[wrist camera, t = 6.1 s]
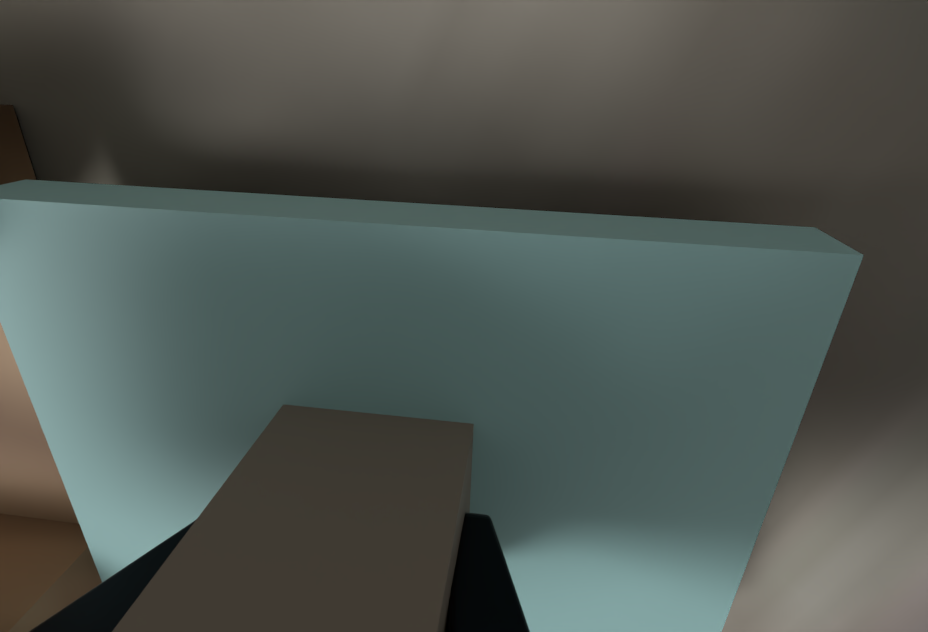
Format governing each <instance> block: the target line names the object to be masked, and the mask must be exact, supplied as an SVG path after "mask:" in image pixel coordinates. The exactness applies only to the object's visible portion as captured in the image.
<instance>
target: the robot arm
mask: <svg viewBox="0 0 928 632" xmlns="http://www.w3.org/2000/svg"><path fill="white" fill-rule="evenodd" d="M196 520H197V519H196ZM196 520H195V521H196ZM195 521H193V522H192V523H190V524H189V525H187V526H186V527H184V528H183V529H181V530H180V531H178V532H177V533H175V534H174V535H172V536H171V537H169V538H168V539H166V540H165V541H163V542H162V543H160V544H159V545H157V546H156V547H154V548H153V549H151V550H150V551H148V552H147V553H145V554H144V555H142V556H141V557H139V558H138V559H136V560H135V561H133V562H132V563H130V564H129V565H127V566H126V567H124V568H123V569H121V570H120V571H118V572H117V573H115V574H114V575H112V576H111V577H109V578H108V579H106V580H105V581H103V582H102V583H100V584H99V585H97V586H96V587H94V588H93V589H91V590H90V591H88V592H87V593H85V594H84V595H82V596H81V597H79V598H78V599H76V600H75V601H73V602H72V603H70V604H69V605H67V606H66V607H64V608H63V609H61V610H60V611H58V612H57V613H55V614H54V615H52V616H51V617H49V618H48V619H46V620H45V621H43V622H42V623H40V624H39V625H37V626H36V627H34V628H33V629H31V630H30V631H28V632H112V631H113V630H114V628H115V627H116V626H117V624H118V623H119V622H120V620H121V619H122V618H123V616H124V615H125V614H126V612H127V611H128V610H129V608H130V607H131V606H132V604H133V603H134V602H135V601H136V599H137V598H138V597H139V595H140V594H141V593H142V591H143V590H144V589H145V587H146V586H147V585H148V583H149V582H150V581H151V579H152V578H153V577H154V575H155V574H156V573H157V571H158V570H159V569H160V567H161V566H162V565H163V563H164V562H165V561H166V559H167V558H168V557H169V555H170V554H171V553H172V551H173V550H174V549H175V547H176V546H177V545H178V543H179V542H180V541H181V539H182V538H183V537H184V535H185V534H186V533H187V531H188V530H189V529H190V527H191V526H192V525H193V524H194V522H195ZM448 632H530V630H529V627H528V624H527V621H526V619H525V616H524V613H523V610H522V607H521V604H520V601H519V598H518V595H517V592H516V589H515V586H514V583H513V580H512V578H511V575H510V572H509V569H508V566H507V563H506V560H505V557H504V554H503V551H502V548H501V545H500V542H499V539H498V537H497V534H496V531H495V528H494V525H493V522H492V519H491V518H490V516H488V515H485V514H477V513H469V512H467V513H465V516H464V522H463V527H462V532H461V538H460V543H459V548H458V554H457V559H456V564H455V570H454V575H453V581H452V586H451V592H450V598H449V612H448Z"/></svg>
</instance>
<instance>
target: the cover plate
mask: <svg viewBox="0 0 928 632" xmlns="http://www.w3.org/2000/svg"><path fill="white" fill-rule="evenodd" d="M863 256H864V255H863V254H861V253H859V252H857V251H856V250H854V249H852V248H850V247H849V246H847V245H845V244H843V243H842V242H840V241H838V240H836V239H835V238H833V237H831V236H829V235H828V234H826V233H824V232H822V231H821V230H819V229H817V228H815V227H801V226H785V225H768V224H752V223H735V222H719V221H702V220H686V219H669V218H653V217H636V216H620V215H603V214H587V213H570V212H554V211H537V210H521V209H505V208H488V207H472V206H455V205H439V204H422V203H406V202H389V201H373V200H356V199H340V198H323V197H307V196H290V195H274V194H257V193H241V192H224V191H208V190H191V189H175V188H159V187H142V186H126V185H109V184H93V183H76V182H60V181H43V180H27V179H25V180H21V181H16V182H12V183H7V184H2V185H0V323H1V325H2V328H3V330H4V333H5V335H6V338H7V341H8V343H9V346H10V348H11V351H12V353H13V356H14V358H15V361H16V364H17V366H18V369H19V371H20V374H21V376H22V379H23V381H24V384H25V387H26V389H27V392H28V394H29V397H30V399H31V402H32V404H33V407H34V410H35V412H36V415H37V417H38V420H39V422H40V425H41V427H42V430H43V433H44V435H45V438H46V440H47V443H48V445H49V448H50V450H51V453H52V455H53V458H54V461H55V463H56V466H57V468H58V471H59V473H60V476H61V478H62V481H63V484H64V486H65V489H66V491H67V494H68V496H69V499H70V501H71V504H72V507H73V509H74V512H75V514H76V517H77V519H78V522H79V524H80V527H81V530H82V532H83V535H84V537H85V540H86V542H87V545H88V547H89V550H90V553H91V555H92V558H93V560H94V563H95V565H96V568H97V570H98V573H99V576H100V578H101V581H102V582H103V581H105V580H106V579H108V578H109V577H111V576H112V575H114V574H115V573H117V572H118V571H120V570H121V569H123V568H124V567H126V566H127V565H129V564H130V563H132V562H133V561H135V560H136V559H138V558H139V557H141V556H142V555H144V554H145V553H147V552H148V551H150V550H151V549H153V548H154V547H156V546H157V545H159V544H160V543H162V542H163V541H165V540H166V539H168V538H169V537H171V536H172V535H174V534H175V533H177V532H178V531H180V530H181V529H183V528H184V527H186V526H187V525H189V524H190V523H192V522H193V521H195V520H196V519H197V520H196V521H195V522H194V524H193V525H192V526H191V527H190V529H189V530H188V531H187V533H186V534H185V535H184V537H183V538H182V539H181V541H180V542H179V543H178V545H177V546H176V547H175V549H174V550H173V551H172V553H171V554H170V555H169V557H168V558H167V559H166V561H165V562H164V563H163V565H162V566H161V567H160V569H159V570H158V571H157V573H156V574H155V575H154V577H153V578H152V579H151V581H150V582H149V583H148V585H147V586H146V587H145V589H144V590H143V591H142V593H141V594H140V595H139V597H138V598H137V599H136V601H135V602H134V603H133V604H132V606H131V607H130V608H129V610H128V611H127V612H126V614H125V615H124V616H123V618H122V619H121V620H120V622H119V623H118V624H117V626H116V627H115V628H114V630H113V631H112V632H448V612H449V598H450V592H451V586H452V581H453V575H454V570H455V564H456V559H457V554H458V548H459V543H460V538H461V532H462V527H463V522H464V516H465V513H467V512H469V513H477V514H485V515H488V516H490V518H491V519H492V522H493V525H494V528H495V531H496V534H497V537H498V539H499V542H500V545H501V548H502V551H503V554H504V557H505V560H506V563H507V566H508V569H509V572H510V575H511V578H512V580H513V583H514V586H515V589H516V592H517V595H518V598H519V601H520V604H521V607H522V610H523V613H524V616H525V619H526V621H527V624H528V627H529V630H530V632H722V629H723V626H724V624H725V621H726V618H727V616H728V613H729V610H730V608H731V605H732V602H733V600H734V597H735V595H736V592H737V589H738V587H739V584H740V581H741V579H742V576H743V573H744V571H745V568H746V565H747V563H748V560H749V558H750V555H751V552H752V550H753V547H754V544H755V542H756V539H757V536H758V534H759V531H760V528H761V526H762V523H763V520H764V518H765V515H766V513H767V510H768V507H769V505H770V502H771V499H772V497H773V494H774V491H775V489H776V486H777V483H778V481H779V478H780V475H781V473H782V470H783V468H784V465H785V462H786V460H787V457H788V454H789V452H790V449H791V446H792V444H793V441H794V438H795V436H796V433H797V430H798V428H799V425H800V423H801V420H802V417H803V415H804V412H805V409H806V407H807V404H808V401H809V399H810V396H811V393H812V391H813V388H814V386H815V383H816V380H817V378H818V375H819V372H820V370H821V367H822V364H823V362H824V359H825V356H826V354H827V351H828V348H829V346H830V343H831V341H832V338H833V335H834V333H835V330H836V327H837V325H838V322H839V319H840V317H841V314H842V311H843V309H844V306H845V303H846V301H847V298H848V296H849V293H850V290H851V288H852V285H853V282H854V280H855V277H856V274H857V272H858V269H859V266H860V264H861V261H862V258H863Z"/></svg>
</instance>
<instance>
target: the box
mask: <svg viewBox="0 0 928 632" xmlns="http://www.w3.org/2000/svg"><path fill="white" fill-rule="evenodd" d="M25 179H27V180H36V177H35V174H34V171H33V168H32V165H31V161H30V158H29V155H28V152H27V149H26V146H25V142H24V139H23V136H22V133H21V130H20V127H19V123H18V120H17V117H16V114H15V111H14V108H13V105H0V185H2V184H7V183H12V182H16V181H21V180H25ZM100 583H102V581H101V578H100V576H99V573H98V570H97V568H96V565H95V563H94V560H93V558H92V555H91V553H90V550H89V547H88V545H87V542H86V540H85V537H84V535H83V532H82V530H81V527H80V524H79V522H78V519H77V517H76V514H75V512H74V509H73V507H72V504H71V501H70V499H69V496H68V494H67V491H66V489H65V486H64V484H63V481H62V478H61V476H60V473H59V471H58V468H57V466H56V463H55V461H54V458H53V455H52V453H51V450H50V448H49V445H48V443H47V440H46V438H45V435H44V433H43V430H42V427H41V425H40V422H39V420H38V417H37V415H36V412H35V410H34V407H33V404H32V402H31V399H30V397H29V394H28V392H27V389H26V387H25V384H24V381H23V379H22V376H21V374H20V371H19V369H18V366H17V364H16V361H15V358H14V356H13V353H12V351H11V348H10V346H9V343H8V341H7V338H6V335H5V333H4V330H3V328H2V325H1V323H0V632H28V631H30V630H31V629H33V628H34V627H36V626H37V625H39V624H40V623H42V622H43V621H45V620H46V619H48V618H49V617H51V616H52V615H54V614H55V613H57V612H58V611H60V610H61V609H63V608H64V607H66V606H67V605H69V604H70V603H72V602H73V601H75V600H76V599H78V598H79V597H81V596H82V595H84V594H85V593H87V592H88V591H90V590H91V589H93V588H94V587H96V586H97V585H99V584H100Z"/></svg>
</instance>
